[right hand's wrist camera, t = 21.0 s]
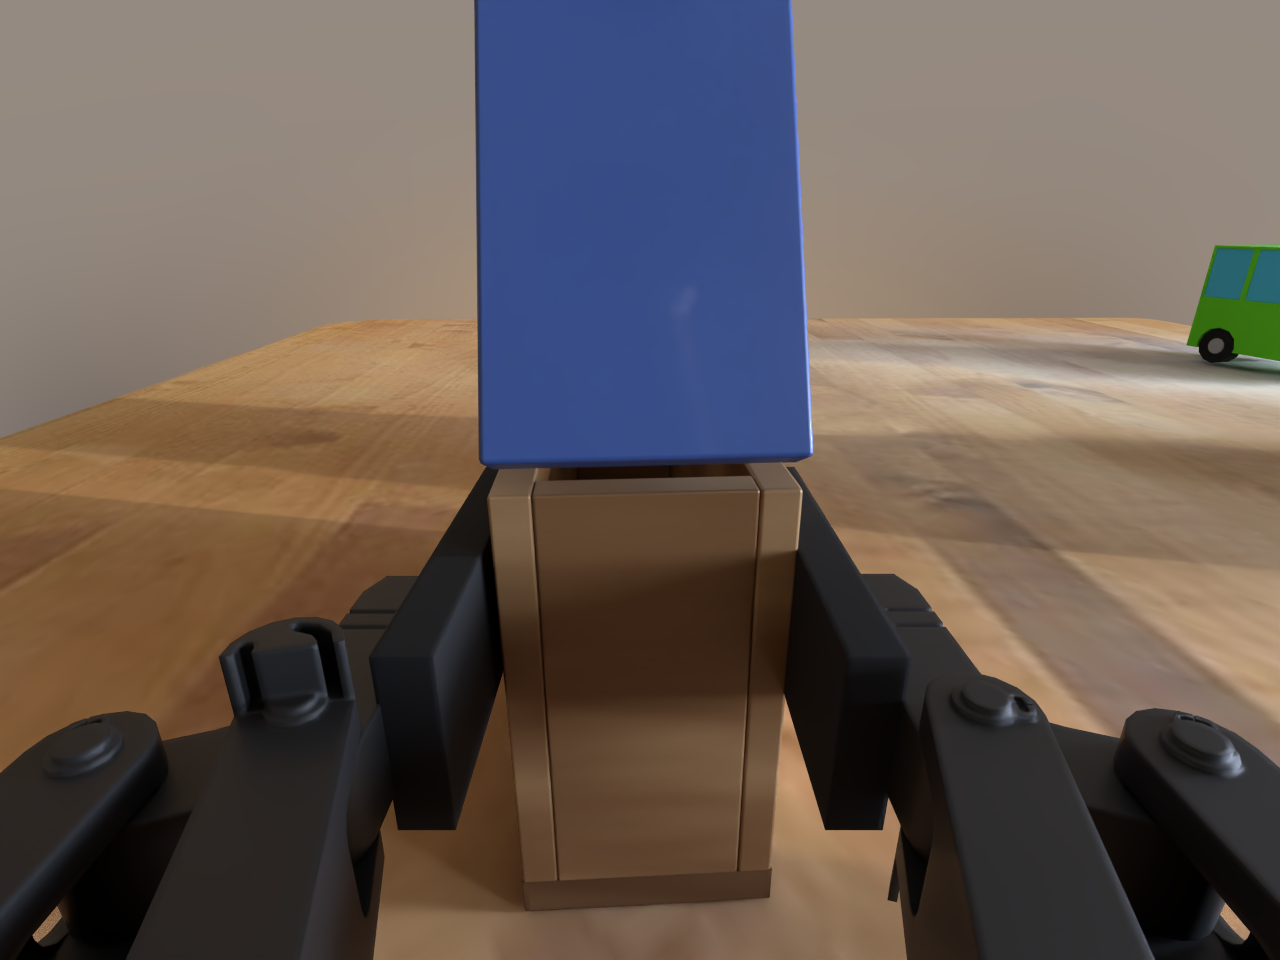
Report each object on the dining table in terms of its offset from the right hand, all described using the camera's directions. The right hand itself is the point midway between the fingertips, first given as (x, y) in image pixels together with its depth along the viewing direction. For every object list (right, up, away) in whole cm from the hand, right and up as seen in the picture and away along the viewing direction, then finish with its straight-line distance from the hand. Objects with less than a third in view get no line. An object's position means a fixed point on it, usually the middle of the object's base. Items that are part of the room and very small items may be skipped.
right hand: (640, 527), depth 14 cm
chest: (0, -5, +5) cm, 7 cm away
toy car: (+57, +10, +44) cm, 73 cm away
